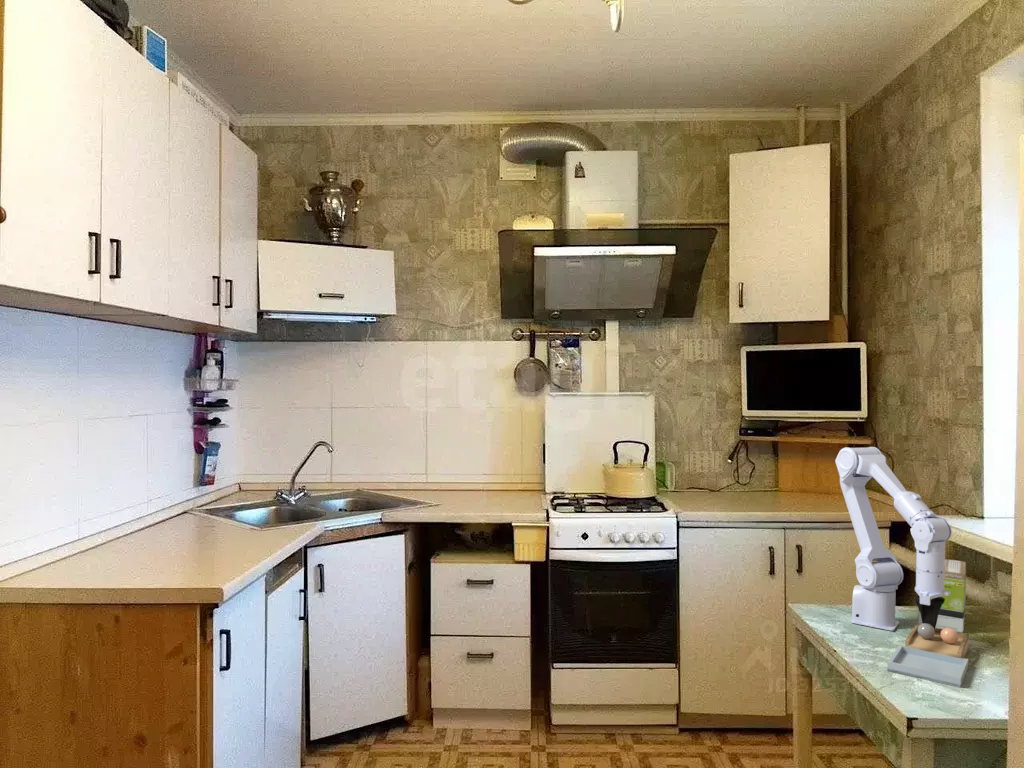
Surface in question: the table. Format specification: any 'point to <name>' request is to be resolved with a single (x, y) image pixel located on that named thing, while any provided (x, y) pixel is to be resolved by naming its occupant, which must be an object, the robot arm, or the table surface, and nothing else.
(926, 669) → the ceramic dish
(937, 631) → the oak tray
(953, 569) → the tea box
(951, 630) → the pebble terracotta
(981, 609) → the table surface
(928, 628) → the pebble grey
